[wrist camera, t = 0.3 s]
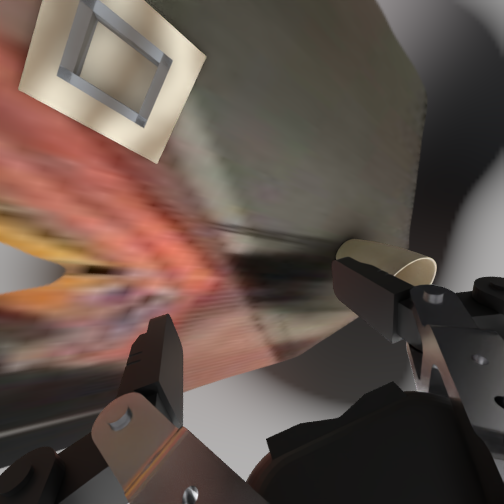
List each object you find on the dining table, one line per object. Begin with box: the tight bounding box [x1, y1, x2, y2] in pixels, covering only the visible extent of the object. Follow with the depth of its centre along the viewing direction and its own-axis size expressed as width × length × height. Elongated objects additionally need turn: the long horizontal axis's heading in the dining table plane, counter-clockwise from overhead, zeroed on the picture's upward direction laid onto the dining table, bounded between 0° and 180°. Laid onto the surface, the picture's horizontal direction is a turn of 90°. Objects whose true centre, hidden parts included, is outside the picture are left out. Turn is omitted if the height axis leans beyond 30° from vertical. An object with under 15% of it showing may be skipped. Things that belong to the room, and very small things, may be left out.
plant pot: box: [336, 239, 436, 286], centre depth 51 cm, size 15×15×16 cm
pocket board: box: [18, 0, 206, 164], centre depth 25 cm, size 14×14×4 cm
